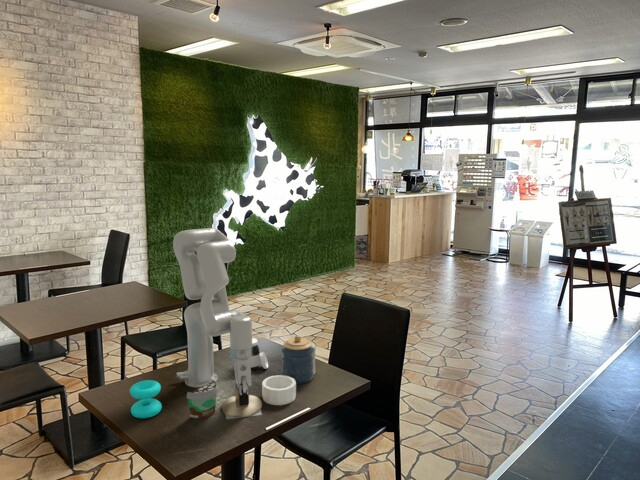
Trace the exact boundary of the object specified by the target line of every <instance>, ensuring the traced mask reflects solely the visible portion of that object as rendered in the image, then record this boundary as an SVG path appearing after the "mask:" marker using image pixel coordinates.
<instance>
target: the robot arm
mask: <svg viewBox="0 0 640 480" xmlns="http://www.w3.org/2000/svg"><path fill="white" fill-rule="evenodd" d="M172 241H173V242H172V247H173V253H174V255H175V257H176V259H177V262H178V264H179V269H180V274H181V282H182V287H183V291H184V292H183V293H184V295H185V297H186V298H187V300H192V301H195V300H200V302H196V303H195V302H194V303H193V304H190V305H188V306H187V307H186V308H185V310H184V312H183V317H184V322H185V327H186V332H187V333H186V335H187V358H188V359H187V360H188V361H187V362H188V363H187V364H188V366H187V367H188V368H187V370H185V371H181V372H176V378H178V379H179V380H184V384H185V385H186V386H187V387H190V388H195V389H198V388H200V387H201V386H204V385H207V384H209V383H211V382H212V380H214V381H216V383H218V382H217V381H218V380H219V377H218V374H216V373H215V372H214V371H215V370H214V367H215V365H214V338H213V337H218V336H222V335H226V334H229V345H230V346H229V347H230V348H229V349H230V358H231V359H233V369H234V378H235V382H236V383H235V386H238V387H239V389H240V394H239V405H240V406H243V405H248V404H249V395H250V393H249V387H251V386H252V385H253V384H252V370H251V365H250V357H252V338H253V321H252V318H251V317H250V316H249V315H246V314H245V315H244V313H243V312H242V311H240V310H238V309H231V310H230V306H229V301H228V295H227V293H228V292H227V289H226V288H227V287H226V286H228V284H229V283H230V277H229V275H228V273H227V272H228V271H227V269H226V265H225V264H227V263H231V262H233V261H235V259H236V256H237V251H236V247H235V245H234V243H233V242H232V241H231V240H230V239H229V237H227V236H226V235H225V234H224V233H223V232H221V231H220V230H219V229H217V228H215V227H207V228H194V229H193V228H192V229H185V230H181V231H179V232H177V233H176V234H175V235H174V237H173V240H172ZM195 252H196V253H195ZM241 388H243V389H242V390H241Z"/></svg>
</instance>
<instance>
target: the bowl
mask: <svg viewBox="0 0 640 480" xmlns="http://www.w3.org/2000/svg"><path fill="white" fill-rule="evenodd" d="M261 396H262V401H263V402H264V403H266V404H269V405H273V406H283V405H284V406H285V405H288V404H291V403H292V402H294V401H295V400H296V396H297V384H296V382H295V380H294V379H293V378H291V377H289V376H283V375H281V374H279V375H278V374H277V375H271V376H268V377H266V378H265V379H263V381H262V382H261Z"/></svg>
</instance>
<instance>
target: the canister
mask: <svg viewBox="0 0 640 480" xmlns="http://www.w3.org/2000/svg"><path fill="white" fill-rule="evenodd" d="M311 342H312V341H310V340H309V339H307V338H305V337H302V336H300V335H299V334H297V335H295V336H294V337H290V338H288V339H287V340H285V341H284V342H283V347H281V353H282V355H281V358H280V359H281V374H280V375H283V376H289V377H291V378H293V379H294V380H295V382H296V385H298V384H299V385H300V384H306V383H309V382H310V381H312V379H313V378H314V375H315V374H314V371H313V359H314V356H313V351H314V348H313V347H312V343H313V342H312V343H311ZM313 374H314V375H313Z"/></svg>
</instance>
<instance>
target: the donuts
mask: <svg viewBox="0 0 640 480" xmlns="http://www.w3.org/2000/svg"><path fill="white" fill-rule="evenodd" d="M161 389H162V386H161V383H159V382H158V381H157V380H152V379H145V380H141V381H138V382H136V383H134V384H133V385H131V387H130V389H129V394H130V396H131V397H132V398H134V399H136V400H138V401H136V402H134V403H133V405H132V406H131V408H130V413H131V415H132V416H133V417H134V418H136V419H149V418H153V417H154V416H156V415H158V414H159V413H160V412H161V411H162V408H163V405H162V403H161V401H159V399H156V398H154V397H156V396H157V395H158V394H159V393H160V392H161Z"/></svg>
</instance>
